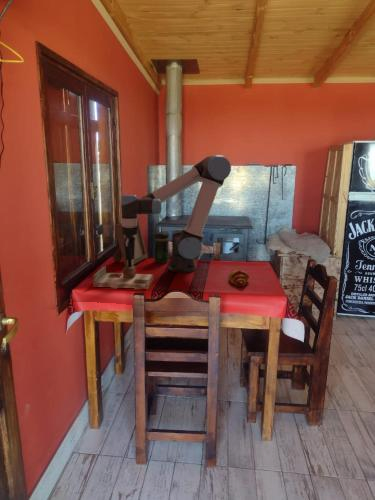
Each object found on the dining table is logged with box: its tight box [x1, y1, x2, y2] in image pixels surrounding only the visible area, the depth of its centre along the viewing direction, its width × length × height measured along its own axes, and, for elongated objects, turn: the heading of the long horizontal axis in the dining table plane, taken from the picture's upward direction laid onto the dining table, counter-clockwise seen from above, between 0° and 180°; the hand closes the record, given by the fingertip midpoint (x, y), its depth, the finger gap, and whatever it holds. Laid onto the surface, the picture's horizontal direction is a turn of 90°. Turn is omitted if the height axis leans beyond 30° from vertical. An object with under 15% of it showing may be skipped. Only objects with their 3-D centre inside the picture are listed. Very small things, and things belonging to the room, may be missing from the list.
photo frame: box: [113, 218, 148, 267], centre depth 214 cm, size 15×22×25 cm
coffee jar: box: [154, 230, 170, 264], centre depth 215 cm, size 10×8×19 cm
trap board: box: [92, 265, 154, 290], centre depth 177 cm, size 26×16×6 cm, turn 85°
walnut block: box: [122, 265, 137, 279], centre depth 179 cm, size 5×5×5 cm
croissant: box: [227, 269, 250, 287], centre depth 181 cm, size 21×10×8 cm, turn 1°
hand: (130, 271), depth 182 cm, fingers closed
